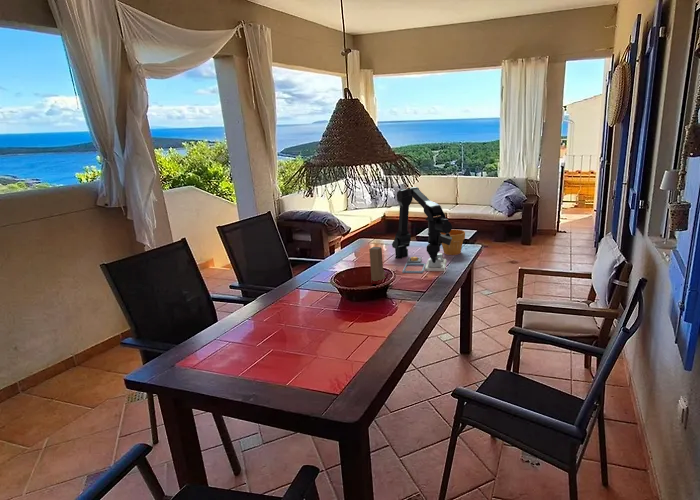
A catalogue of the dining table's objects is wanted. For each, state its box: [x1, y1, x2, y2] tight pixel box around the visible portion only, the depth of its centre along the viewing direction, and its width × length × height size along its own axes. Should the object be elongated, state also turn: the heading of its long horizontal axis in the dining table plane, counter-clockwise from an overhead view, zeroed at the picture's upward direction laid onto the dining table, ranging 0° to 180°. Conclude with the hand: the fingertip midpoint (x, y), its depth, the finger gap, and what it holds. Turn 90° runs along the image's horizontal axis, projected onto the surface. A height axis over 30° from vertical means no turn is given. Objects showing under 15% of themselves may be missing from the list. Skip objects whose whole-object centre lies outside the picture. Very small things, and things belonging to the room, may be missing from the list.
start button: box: [410, 256, 419, 261], centre depth 231 cm, size 4×4×3 cm
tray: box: [402, 262, 427, 274], centre depth 220 cm, size 10×13×2 cm
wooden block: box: [369, 246, 386, 281], centre depth 202 cm, size 9×4×18 cm, turn 59°
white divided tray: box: [424, 258, 448, 272], centre depth 222 cm, size 10×17×2 cm, turn 164°
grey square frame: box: [406, 257, 423, 263], centre depth 231 cm, size 7×7×2 cm
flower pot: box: [441, 228, 466, 256], centre depth 241 cm, size 14×14×13 cm
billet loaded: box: [437, 252, 444, 262], centre depth 226 cm, size 6×4×5 cm, turn 74°
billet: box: [427, 257, 441, 268], centre depth 217 cm, size 6×4×5 cm, turn 74°
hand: (435, 260), depth 217 cm, fingers open, 9 cm apart
